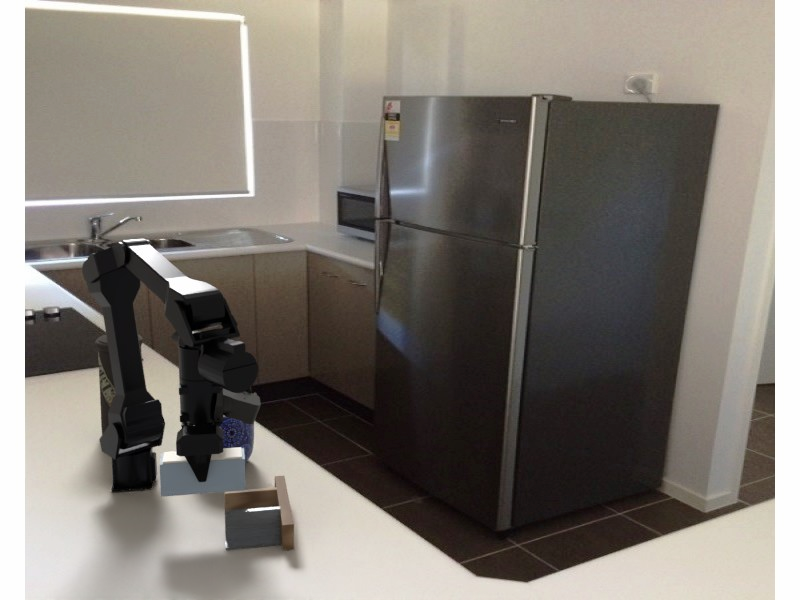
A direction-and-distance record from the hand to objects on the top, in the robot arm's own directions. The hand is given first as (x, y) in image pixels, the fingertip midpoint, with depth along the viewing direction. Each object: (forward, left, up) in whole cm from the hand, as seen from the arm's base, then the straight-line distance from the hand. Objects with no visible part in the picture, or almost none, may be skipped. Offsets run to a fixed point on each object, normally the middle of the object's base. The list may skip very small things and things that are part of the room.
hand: (202, 474), depth 113 cm
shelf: (+7, 0, -9) cm, 11 cm away
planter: (+3, +23, -9) cm, 25 cm away
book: (0, 0, -2) cm, 2 cm away
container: (-16, +41, -9) cm, 45 cm away
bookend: (+7, -5, -9) cm, 12 cm away
